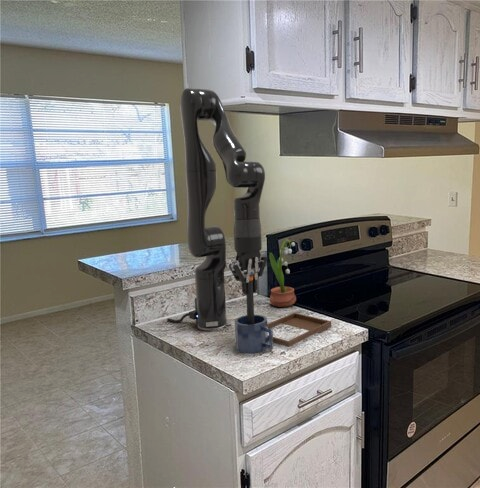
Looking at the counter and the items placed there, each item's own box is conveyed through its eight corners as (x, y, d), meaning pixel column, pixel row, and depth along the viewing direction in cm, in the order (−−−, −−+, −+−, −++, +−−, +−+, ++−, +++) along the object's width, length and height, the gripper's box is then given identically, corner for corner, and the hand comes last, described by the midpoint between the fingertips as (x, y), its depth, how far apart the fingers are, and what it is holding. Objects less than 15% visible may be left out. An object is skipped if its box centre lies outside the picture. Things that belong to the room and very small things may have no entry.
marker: (245, 326, 142) (243, 276, 139) (250, 324, 144) (249, 275, 141) (251, 328, 141) (249, 277, 138) (256, 326, 143) (254, 276, 140)
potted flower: (286, 297, 193) (284, 234, 188) (305, 302, 187) (304, 237, 182) (264, 305, 184) (261, 239, 179) (283, 310, 178) (281, 242, 173)
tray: (250, 337, 153) (250, 331, 152) (294, 317, 170) (294, 312, 169) (288, 348, 144) (288, 342, 143) (331, 327, 161) (331, 321, 160)
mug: (229, 350, 143) (228, 321, 141) (251, 340, 150) (250, 312, 148) (261, 361, 135) (260, 330, 134) (283, 350, 143) (282, 320, 141)
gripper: (255, 229, 145) (257, 285, 148) (219, 236, 134) (222, 297, 137) (274, 231, 141) (275, 290, 144) (239, 239, 130) (241, 301, 133)
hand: (249, 293), depth 141 cm, fingers closed on marker, 2 cm apart
